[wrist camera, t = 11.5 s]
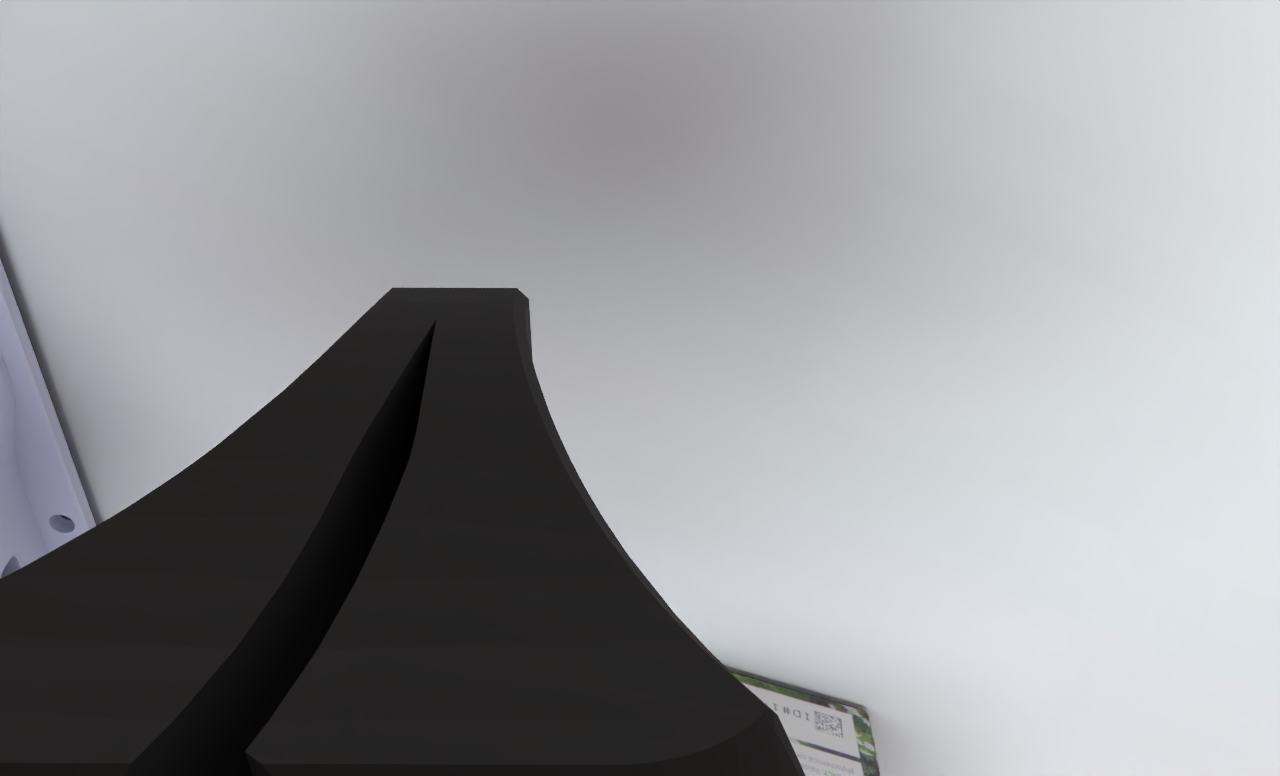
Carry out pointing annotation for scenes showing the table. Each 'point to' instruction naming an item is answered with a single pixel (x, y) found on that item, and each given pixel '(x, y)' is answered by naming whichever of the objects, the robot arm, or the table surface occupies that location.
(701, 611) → the table surface
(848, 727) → the syrup box
